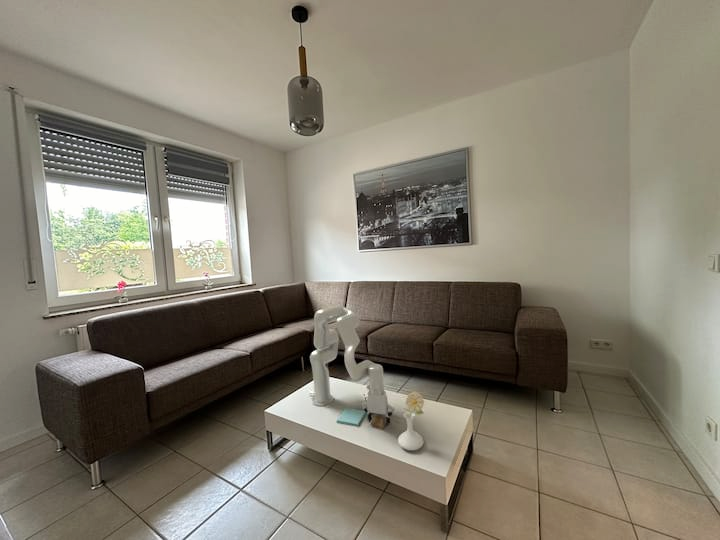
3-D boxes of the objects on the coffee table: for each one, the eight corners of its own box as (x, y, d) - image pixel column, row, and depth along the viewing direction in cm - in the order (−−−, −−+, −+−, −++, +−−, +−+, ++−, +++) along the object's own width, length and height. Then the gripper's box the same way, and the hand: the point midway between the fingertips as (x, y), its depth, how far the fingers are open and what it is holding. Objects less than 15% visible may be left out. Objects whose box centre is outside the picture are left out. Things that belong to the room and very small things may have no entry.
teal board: (336, 422, 148) (336, 420, 148) (346, 410, 159) (345, 408, 159) (357, 426, 144) (357, 424, 144) (365, 413, 155) (365, 411, 155)
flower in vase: (394, 448, 126) (390, 394, 125) (404, 433, 136) (401, 383, 134) (422, 457, 119) (419, 400, 118) (430, 441, 129) (428, 388, 127)
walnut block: (372, 427, 142) (371, 417, 142) (375, 421, 147) (375, 411, 147) (382, 429, 140) (382, 419, 140) (385, 422, 145) (385, 413, 145)
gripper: (358, 391, 142) (360, 424, 143) (391, 395, 136) (393, 429, 137) (363, 384, 149) (365, 415, 150) (395, 387, 143) (397, 420, 144)
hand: (379, 422), depth 144 cm, fingers open, 9 cm apart
